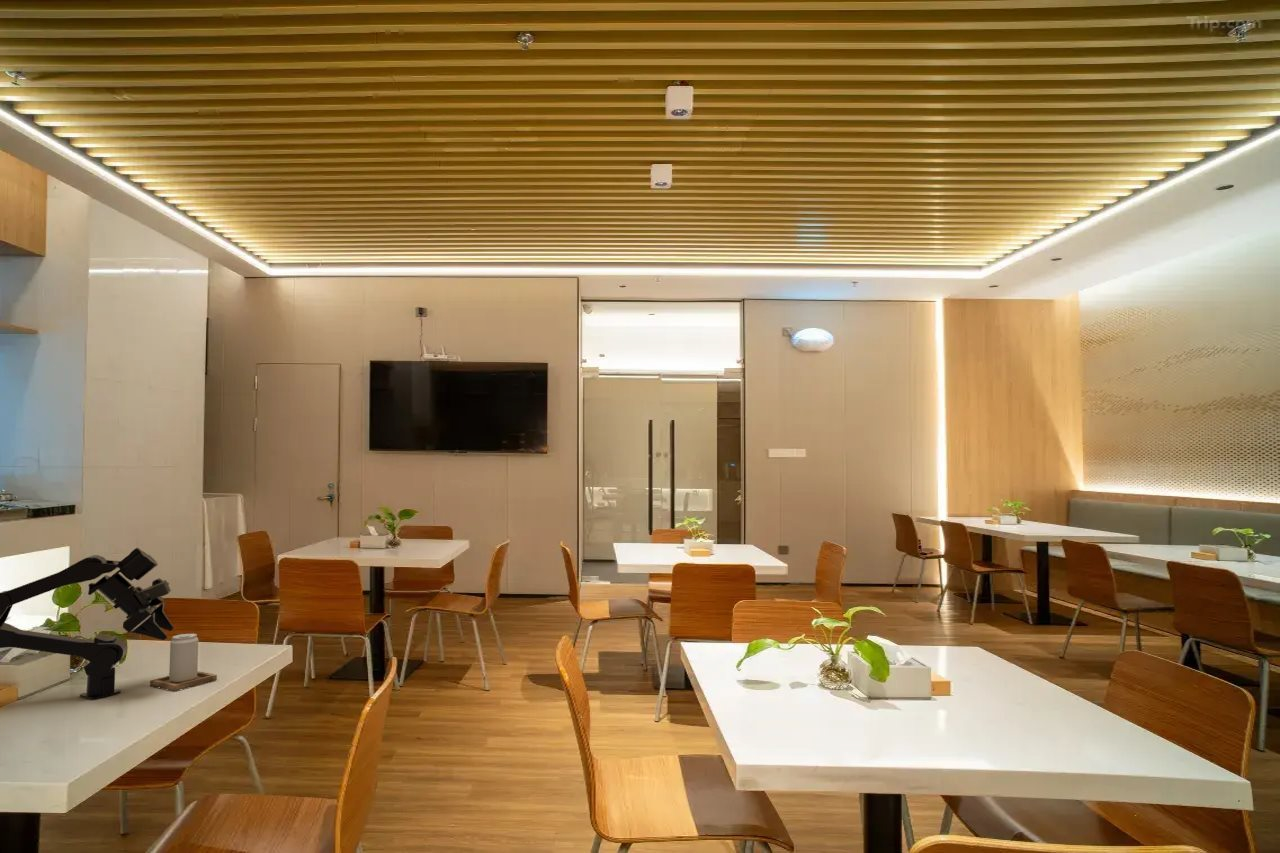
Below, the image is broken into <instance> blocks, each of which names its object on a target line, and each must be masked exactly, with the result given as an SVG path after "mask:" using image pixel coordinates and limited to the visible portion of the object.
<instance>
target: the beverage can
mask: <svg viewBox="0 0 1280 853" xmlns="http://www.w3.org/2000/svg"><path fill="white" fill-rule="evenodd" d="M197 636H198V634H196V633H185V634H184V633H183V634H177V635H176V634H175V635H174V636H172V638H171V640H170V644H169V672H168V676H169V681H171V682H172V683H175V684H180V683H183V682H187V681H191V680H194V679H195V678H196V677H197V671H198V668H199V667H198V662H199V638H198V637H197Z"/></svg>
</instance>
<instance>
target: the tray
mask: <svg viewBox="0 0 1280 853" xmlns="http://www.w3.org/2000/svg"><path fill="white" fill-rule="evenodd" d="M217 677H218V675H217V674H214V673H208V672H204V671H199V670H197V677H196V678H195V679H194V680H191V681H187V682H183V683H180V684H175V683H172V682H171V681H169V675H167V676H163V677H159V678H155V679H150V682H149V684H150V685H149V686H150V687H152V686H154V687H153V688H156V687H160V688H159V689H161V688H164V689H163V690H165V689H168V690H167V691H170V690H173V691H172V692H174V691H176V690H179V691H181V690H180V689H183V690H185V689H184V688H187V689H189V688H188V687H191V688H194V687H198V686H201V684H202V685H205V683H206V684H209V683H213V682H216V680H218V678H217ZM212 681H213V682H212ZM208 682H209V683H208ZM197 685H198V686H197ZM193 686H194V687H193ZM176 692H177V691H176Z"/></svg>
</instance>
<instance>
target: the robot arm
mask: <svg viewBox="0 0 1280 853" xmlns="http://www.w3.org/2000/svg"><path fill="white" fill-rule="evenodd" d="M158 565H159V564H158V562H157V561H156V559H155V558H153V557H152V556H151V555H150V554H148V553H147V552H145V551H144V550H142V549H140V548H139V547H136V548H134V549H133V550H132V551H131V552H130V553H129V554H128V555H127V556H125V557H124V558H123V559H122V560H112V559H111V560H109V559H107V558H105V557H104V556H102V555H99V554H93V555H90V556H87V557H86V558H83V559H81V560H79V561H77V562H75V563H73V564H72V565H70V566H68V567H65V569H62V570H61V571H58V572H56V573H53V574H50V575H48V576H46V577H45V576H44V577H42V578H39V579H36V580H34V581H31V582H28V583H26V584H22V585H20V586H18V587H15V588H12V589H9V590H3V591H1V592H0V649H4V648H13V649H14V648H15V649H22V650H29V651H35V652H36V651H38V652H44V653H45V652H46V653H51V654H52V653H53V654H59V655H67V656H73V657H79V658H82V659H83V660H85V661H88V663H86V665H85V666H84V667H83V670H84V672H85V674H86V678H87V679H86V692H85V693H80V694H79V697H81V698H85V699H90V700H96V699H101V698H104V697H109V696H112V695H116V694H120V693H122V690H120V689H116V686H115V685H116V667H115V666H116V665H117V664H118V663H120V661H121V660H122V659H123V657H124V656H125V655H126V653H127V651H128V645H127V643H126V641H125V640H124V639H122V638H119V635H108V634H105V633H101V632H100V633H98V634H97V635H96V636H95V637H94V638H89V639H88V638H87V639H85V638H79V637H72V636H65V635H58V634H53V633H52V634H51V633H46V632H39V631H31V630H24V629H20V628H18V627H15V626H13V625H12V624H10V623H6V621H7V619H8V617H9V614H10V612H11V610H12V608H13V606H14V605H16V604H18V603H21V602H24V601H26V600H29V599H31V598H34V597H38V596H40V595H42V594H45V593H48V592H51V591H53V590H56V589H58V588H62V587H64V586H69V585H74V584H79V583H83V582H88V581H92V580H95V579H97V578H100V577H101V576H103V575H104V576H103V577H101V578H100V579H98V580H97V581H96V582H90V583H88V593H87V595H89V596H91V595H93V594H94V593H95V592H97V591H98V592H100V593H101V594H102V595H104V596H105V597H106V598H107V599H108V600H109V601H110V602H111V603H112V604H113V606H112V607H113V608H114V609H116V610H117V609H119V610H121V611H122V612H123V613H124V614H125V615H126V617H125V618H126V619H125V620H124V621H123V623H122V628H123V629H124V630H125V631H126V632H127V633H132V634H139V635H143V636H146V637H151V638H154V639H158V640H160V641H165V640H166V639H167V638H168V635H167V634H166V633H165V631H163V630H166V631H168V632H172V631H173V630H174V626H173V624H172V622H171V621H170V618H168V616H167V614H166V613H165V611H164V609H165V607H164V606H165V598H164V596H167V595H168V594H169V593H170V592H171V591H172V590H171V588H170V586H169V584H170V583H169V582H168V581H167V580H166V579H165V580H163V579H161V578H160V577H159V578H157V579H154V580H153V581H152V582H151V583H152V584H151V585H150V586H148V587H145V588H144V589H143V588H142V587H141V586H136V587H135V586H134V585H133V584H132V583H131V582H132V581H133V580H135V581H140V580H141V579H142V578H144V577H145V576H147V574H148V573H150V572H151V571H152V570H153V569H155V568H156V567H157V566H158ZM117 569H118V570H117ZM115 570H117V571H116V572H115V573H113V574H112V575H111V576H110V575H107V574H109V573H112V572H113V571H115ZM105 574H106V575H105ZM130 581H131V582H130Z"/></svg>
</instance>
